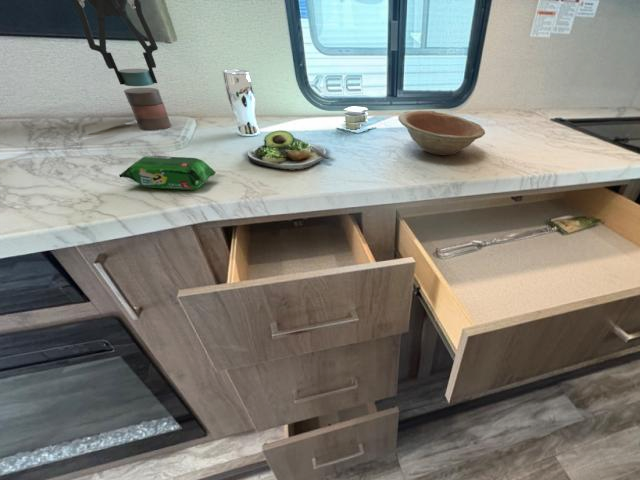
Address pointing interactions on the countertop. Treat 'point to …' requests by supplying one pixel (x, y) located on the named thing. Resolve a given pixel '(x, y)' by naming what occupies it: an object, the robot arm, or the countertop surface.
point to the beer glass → (241, 100)
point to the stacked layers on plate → (355, 117)
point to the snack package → (169, 172)
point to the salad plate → (286, 152)
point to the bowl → (440, 131)
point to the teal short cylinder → (136, 77)
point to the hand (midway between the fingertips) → (138, 82)
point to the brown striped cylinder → (148, 108)
